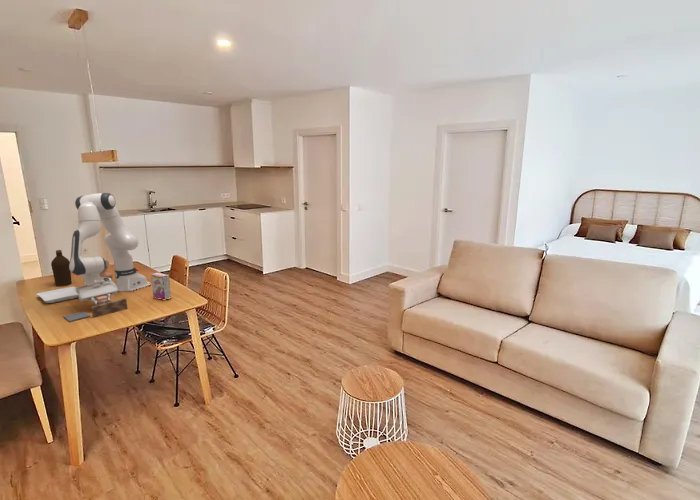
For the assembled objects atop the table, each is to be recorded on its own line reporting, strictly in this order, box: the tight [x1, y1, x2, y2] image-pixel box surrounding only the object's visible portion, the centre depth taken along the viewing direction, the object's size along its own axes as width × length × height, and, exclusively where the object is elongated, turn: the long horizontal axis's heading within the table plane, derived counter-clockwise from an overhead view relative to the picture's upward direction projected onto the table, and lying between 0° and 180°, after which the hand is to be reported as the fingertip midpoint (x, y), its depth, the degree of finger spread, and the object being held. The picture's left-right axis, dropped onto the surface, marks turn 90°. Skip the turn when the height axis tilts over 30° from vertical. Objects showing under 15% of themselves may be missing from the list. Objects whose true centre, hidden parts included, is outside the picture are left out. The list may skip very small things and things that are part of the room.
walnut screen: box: [91, 298, 128, 318], centre depth 226 cm, size 18×2×6 cm, turn 142°
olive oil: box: [50, 249, 73, 287], centre depth 271 cm, size 11×11×25 cm
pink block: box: [95, 295, 109, 305], centre depth 230 cm, size 5×5×8 cm
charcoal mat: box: [63, 310, 91, 323], centre depth 219 cm, size 10×10×1 cm
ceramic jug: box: [99, 259, 113, 279], centre depth 284 cm, size 18×14×14 cm
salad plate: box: [36, 286, 79, 304], centre depth 249 cm, size 21×21×3 cm
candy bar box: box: [150, 272, 172, 299], centre depth 250 cm, size 11×5×16 cm, turn 65°
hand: (103, 302), depth 229 cm, fingers closed on pink block, 5 cm apart
